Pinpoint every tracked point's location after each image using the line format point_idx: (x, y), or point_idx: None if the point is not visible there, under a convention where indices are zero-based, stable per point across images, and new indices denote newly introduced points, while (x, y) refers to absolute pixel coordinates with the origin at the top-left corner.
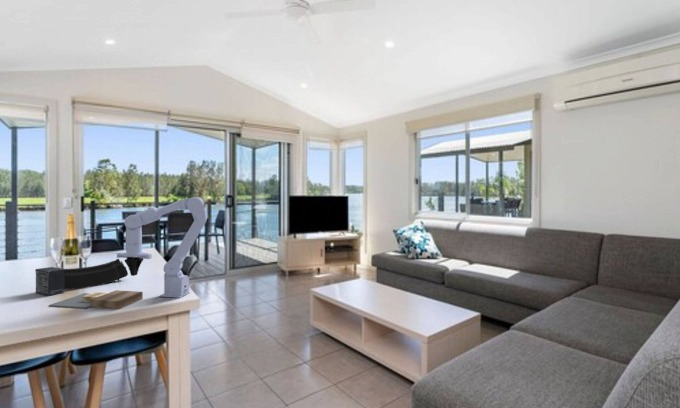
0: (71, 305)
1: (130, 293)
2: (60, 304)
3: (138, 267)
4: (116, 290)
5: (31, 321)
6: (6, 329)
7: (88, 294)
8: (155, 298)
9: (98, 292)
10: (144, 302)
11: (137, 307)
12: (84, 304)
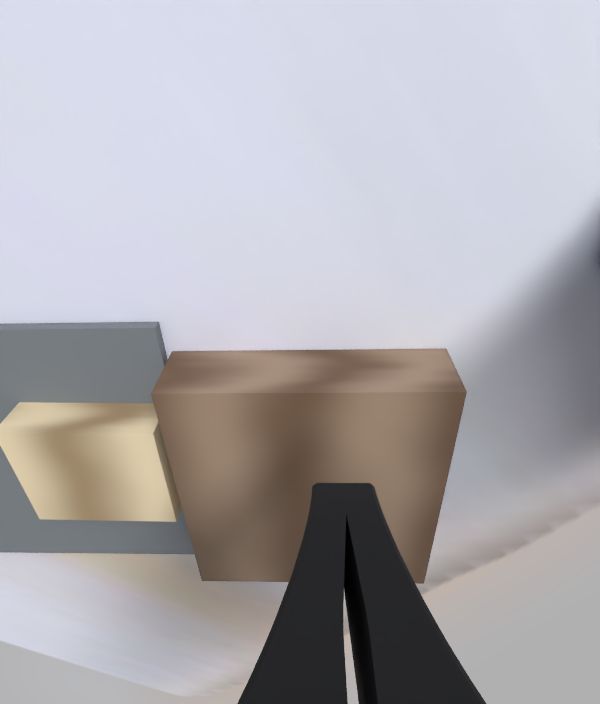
0: (89, 543)
1: (377, 449)
2: (7, 540)
3: (421, 623)
4: (157, 396)
5: (150, 651)
6: (158, 688)
7: (22, 483)
8: (568, 313)
9: (30, 433)
10: (514, 417)
11: (516, 499)
12: (144, 525)
